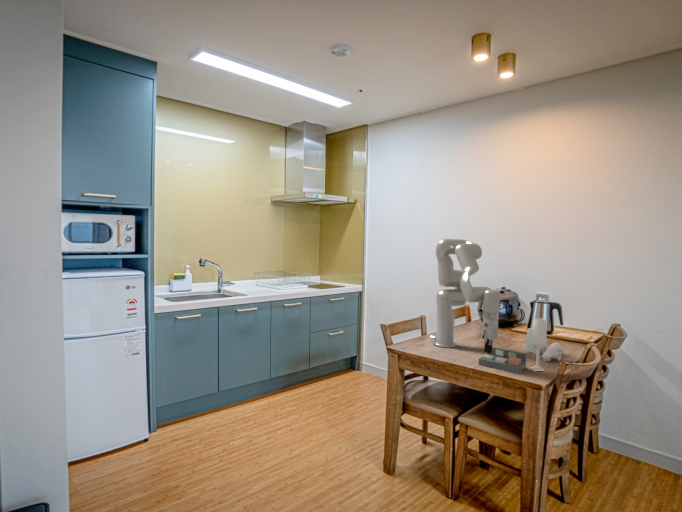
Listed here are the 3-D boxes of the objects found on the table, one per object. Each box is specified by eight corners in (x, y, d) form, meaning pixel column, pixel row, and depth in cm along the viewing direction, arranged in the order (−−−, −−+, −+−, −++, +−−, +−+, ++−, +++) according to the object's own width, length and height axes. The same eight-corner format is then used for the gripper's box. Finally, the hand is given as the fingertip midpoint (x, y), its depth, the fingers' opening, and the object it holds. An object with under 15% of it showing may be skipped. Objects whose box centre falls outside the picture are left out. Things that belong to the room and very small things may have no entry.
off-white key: (494, 363, 190) (495, 358, 190) (497, 361, 194) (498, 356, 194) (504, 366, 187) (504, 360, 187) (507, 363, 191) (507, 358, 191)
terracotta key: (507, 364, 186) (508, 358, 186) (511, 362, 190) (511, 356, 190) (518, 366, 183) (518, 360, 183) (521, 364, 187) (521, 358, 187)
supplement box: (537, 354, 214) (538, 331, 214) (525, 350, 221) (526, 328, 220) (546, 353, 218) (547, 330, 217) (534, 349, 224) (535, 327, 224)
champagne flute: (526, 367, 192) (529, 317, 191) (540, 367, 192) (542, 317, 191) (534, 371, 185) (536, 320, 184) (548, 372, 185) (551, 320, 184)
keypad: (478, 364, 193) (479, 350, 193) (487, 359, 202) (488, 345, 202) (518, 374, 181) (519, 358, 181) (525, 367, 191) (526, 353, 190)
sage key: (482, 361, 194) (482, 356, 194) (485, 359, 198) (485, 354, 197) (491, 363, 191) (491, 358, 191) (494, 361, 195) (495, 356, 195)
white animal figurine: (564, 343, 204) (549, 348, 198) (564, 360, 205) (550, 365, 199) (553, 340, 210) (538, 345, 204) (553, 356, 210) (538, 361, 205)
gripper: (492, 319, 185) (490, 357, 187) (503, 314, 197) (500, 351, 198) (476, 316, 190) (474, 354, 192) (488, 311, 202) (485, 347, 203)
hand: (487, 352), depth 195 cm, fingers closed
